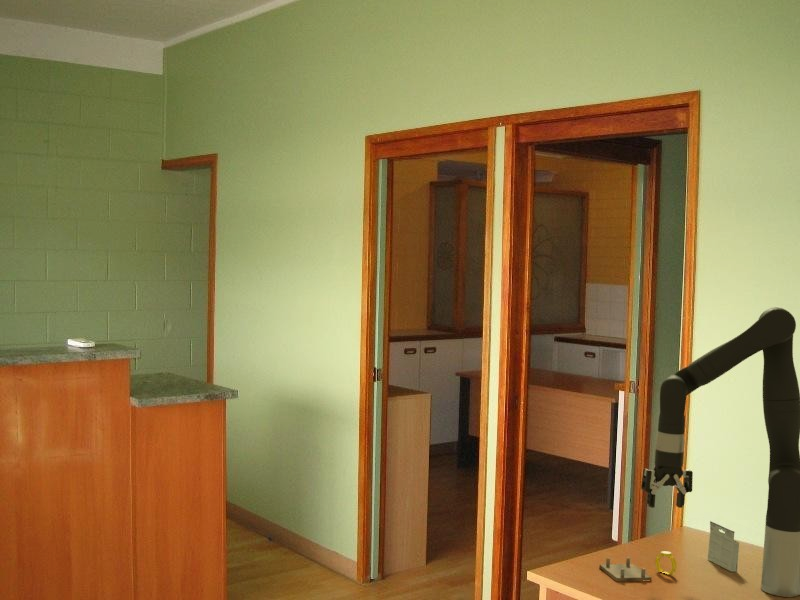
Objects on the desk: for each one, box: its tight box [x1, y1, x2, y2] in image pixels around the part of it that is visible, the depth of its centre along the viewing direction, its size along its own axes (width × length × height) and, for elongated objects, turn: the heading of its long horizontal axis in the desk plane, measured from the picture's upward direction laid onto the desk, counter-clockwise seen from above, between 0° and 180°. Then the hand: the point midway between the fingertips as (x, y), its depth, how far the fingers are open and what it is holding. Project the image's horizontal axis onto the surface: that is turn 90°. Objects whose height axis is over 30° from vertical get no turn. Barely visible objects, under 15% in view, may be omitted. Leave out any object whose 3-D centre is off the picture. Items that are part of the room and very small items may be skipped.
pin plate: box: [598, 557, 653, 583], centre depth 253 cm, size 10×11×3 cm
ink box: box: [707, 520, 740, 573], centre depth 266 cm, size 12×2×12 cm, turn 16°
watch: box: [655, 550, 677, 576], centre depth 256 cm, size 6×3×6 cm, turn 35°
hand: (665, 507), depth 256 cm, fingers open, 8 cm apart
